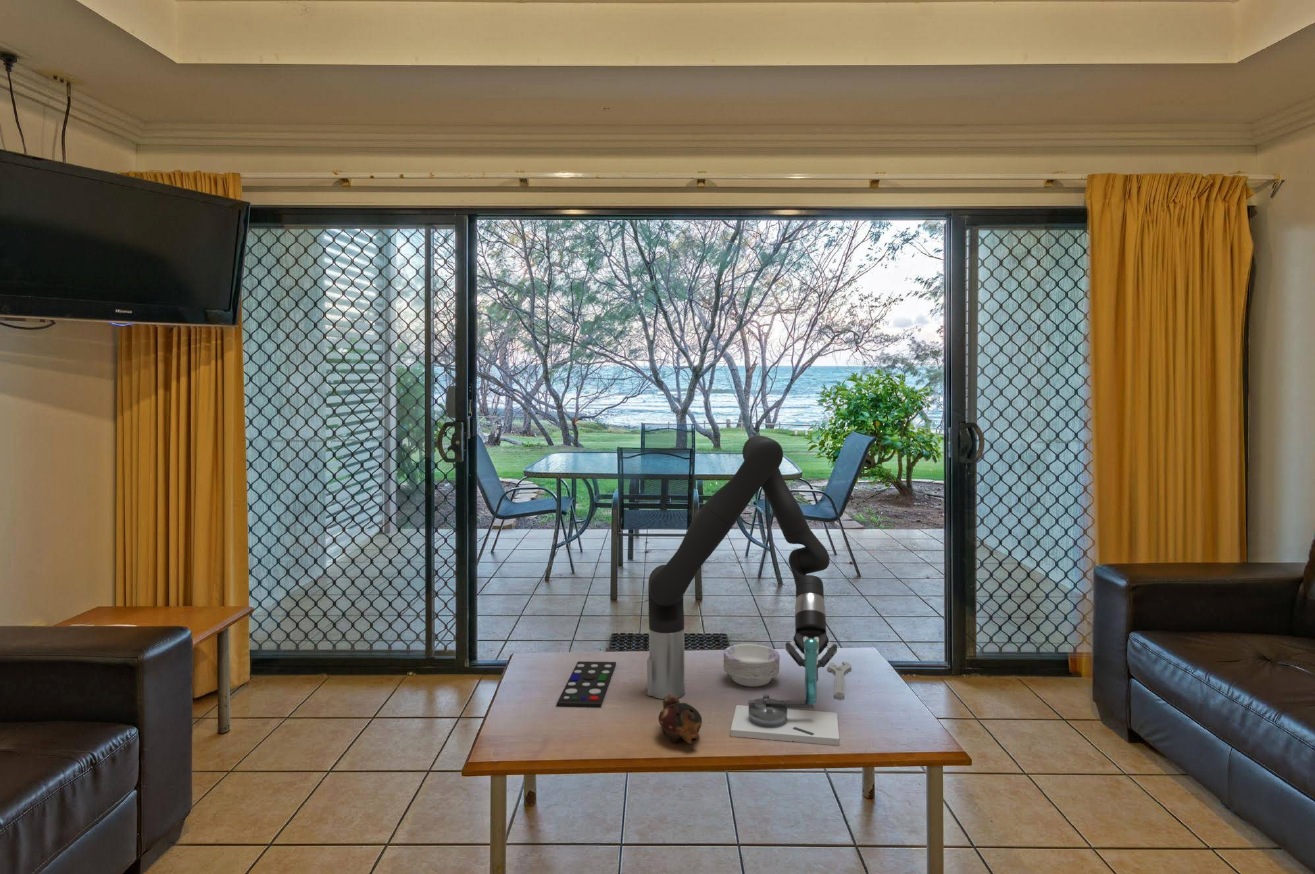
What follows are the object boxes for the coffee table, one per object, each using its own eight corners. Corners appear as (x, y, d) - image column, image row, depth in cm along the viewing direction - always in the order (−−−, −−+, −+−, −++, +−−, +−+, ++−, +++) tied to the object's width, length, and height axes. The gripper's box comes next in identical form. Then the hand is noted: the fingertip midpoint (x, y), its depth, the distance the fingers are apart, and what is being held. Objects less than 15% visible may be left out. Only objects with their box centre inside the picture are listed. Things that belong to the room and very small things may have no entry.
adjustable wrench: (844, 702, 188) (844, 695, 188) (819, 699, 190) (819, 692, 190) (851, 668, 211) (851, 662, 211) (829, 665, 213) (829, 659, 213)
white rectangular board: (730, 736, 168) (730, 728, 168) (736, 711, 181) (736, 704, 181) (839, 745, 163) (839, 737, 163) (836, 718, 177) (836, 711, 177)
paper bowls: (790, 685, 198) (790, 656, 197) (740, 694, 192) (740, 664, 191) (761, 667, 212) (761, 640, 211) (713, 675, 206) (713, 647, 205)
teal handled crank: (750, 726, 169) (750, 644, 168) (747, 710, 178) (746, 631, 177) (821, 727, 168) (821, 644, 167) (814, 710, 177) (815, 632, 176)
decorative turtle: (681, 720, 176) (684, 688, 176) (714, 751, 163) (717, 716, 162) (645, 727, 172) (647, 693, 171) (676, 758, 158) (679, 723, 158)
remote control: (556, 708, 185) (556, 701, 185) (578, 666, 215) (577, 659, 215) (600, 709, 184) (600, 701, 184) (616, 666, 214) (615, 660, 214)
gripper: (783, 607, 184) (783, 674, 172) (837, 609, 181) (841, 677, 170) (783, 621, 189) (783, 687, 178) (836, 623, 187) (840, 690, 175)
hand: (812, 682), depth 174 cm, fingers closed
